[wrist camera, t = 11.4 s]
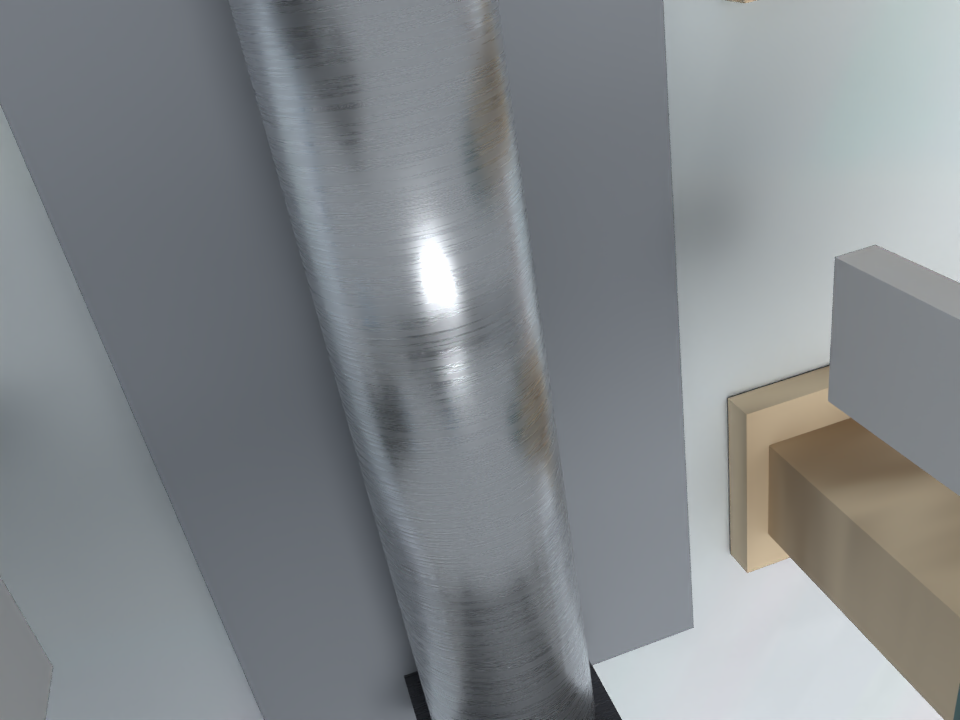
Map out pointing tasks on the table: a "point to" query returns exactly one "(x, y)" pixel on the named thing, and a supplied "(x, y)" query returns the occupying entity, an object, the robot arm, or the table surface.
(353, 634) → the pad
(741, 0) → the post near
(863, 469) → the post far
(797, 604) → the table surface
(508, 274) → the rail
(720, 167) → the table surface
